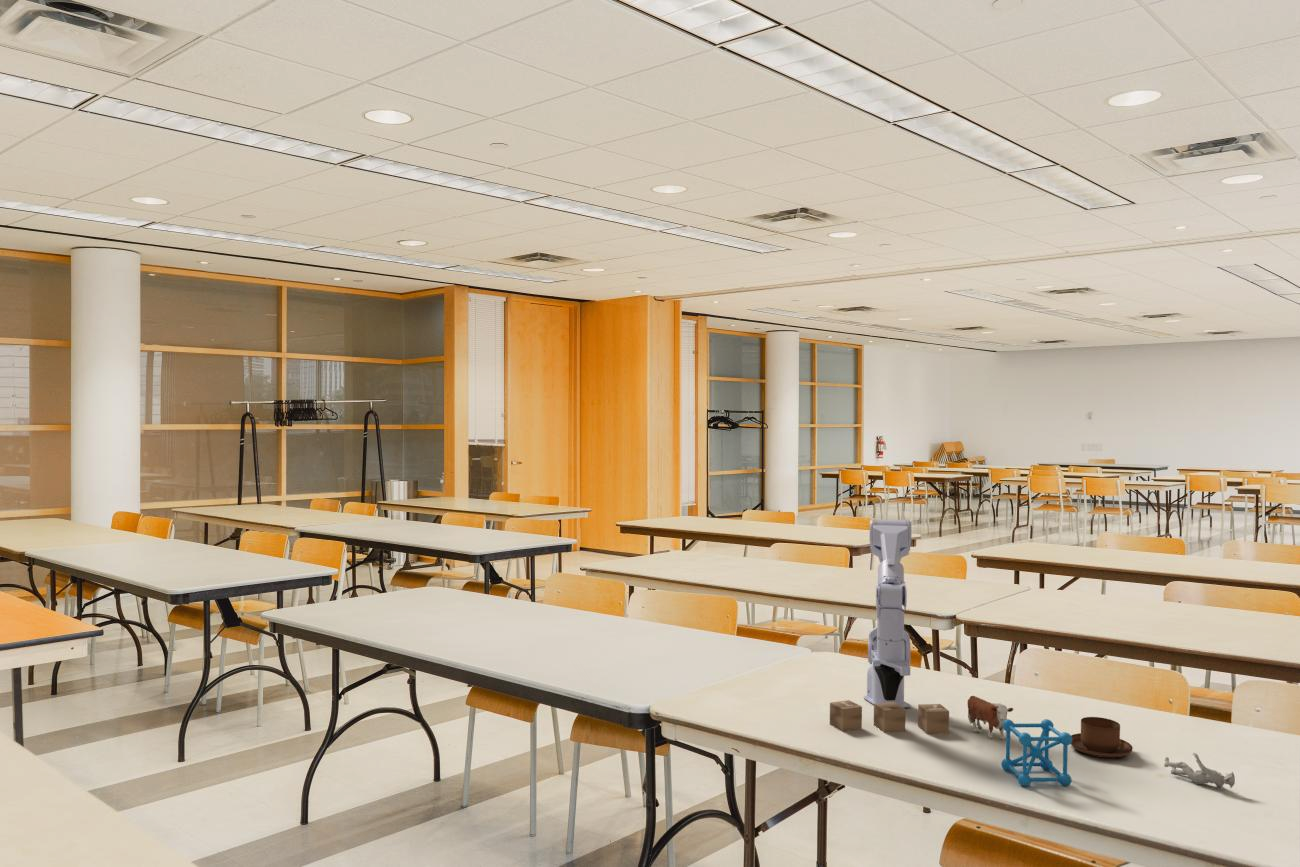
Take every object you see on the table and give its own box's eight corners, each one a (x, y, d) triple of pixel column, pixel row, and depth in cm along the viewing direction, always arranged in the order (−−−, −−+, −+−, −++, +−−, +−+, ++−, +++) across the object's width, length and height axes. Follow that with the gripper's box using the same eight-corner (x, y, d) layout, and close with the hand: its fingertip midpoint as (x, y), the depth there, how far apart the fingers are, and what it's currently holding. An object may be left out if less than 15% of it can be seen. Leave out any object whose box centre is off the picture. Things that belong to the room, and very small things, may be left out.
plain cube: (873, 725, 211) (873, 703, 211) (894, 724, 212) (894, 702, 212) (884, 733, 206) (884, 710, 206) (905, 731, 207) (905, 708, 207)
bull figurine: (1000, 747, 198) (1000, 708, 198) (962, 726, 211) (963, 690, 211) (1018, 745, 199) (1018, 706, 199) (979, 725, 212) (980, 688, 212)
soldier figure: (1182, 775, 186) (1246, 774, 177) (1179, 797, 183) (1244, 797, 174) (1160, 751, 184) (1224, 748, 175) (1156, 773, 181) (1221, 771, 172)
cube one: (829, 724, 211) (829, 702, 211) (848, 722, 213) (848, 699, 213) (842, 731, 207) (842, 708, 207) (861, 729, 209) (862, 706, 209)
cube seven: (917, 726, 211) (918, 704, 211) (939, 726, 211) (940, 703, 211) (926, 734, 206) (926, 711, 206) (948, 733, 206) (949, 710, 206)
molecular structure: (1049, 768, 186) (1050, 717, 186) (1073, 788, 176) (1074, 734, 176) (999, 768, 186) (1000, 717, 186) (1020, 788, 176) (1021, 734, 176)
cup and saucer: (1077, 738, 204) (1077, 709, 204) (1138, 751, 197) (1139, 721, 196) (1060, 753, 195) (1061, 723, 195) (1124, 767, 187) (1124, 736, 187)
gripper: (859, 631, 215) (858, 691, 215) (889, 647, 201) (888, 710, 201) (887, 630, 217) (886, 689, 217) (919, 645, 202) (918, 708, 203)
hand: (889, 699), depth 209 cm, fingers closed
